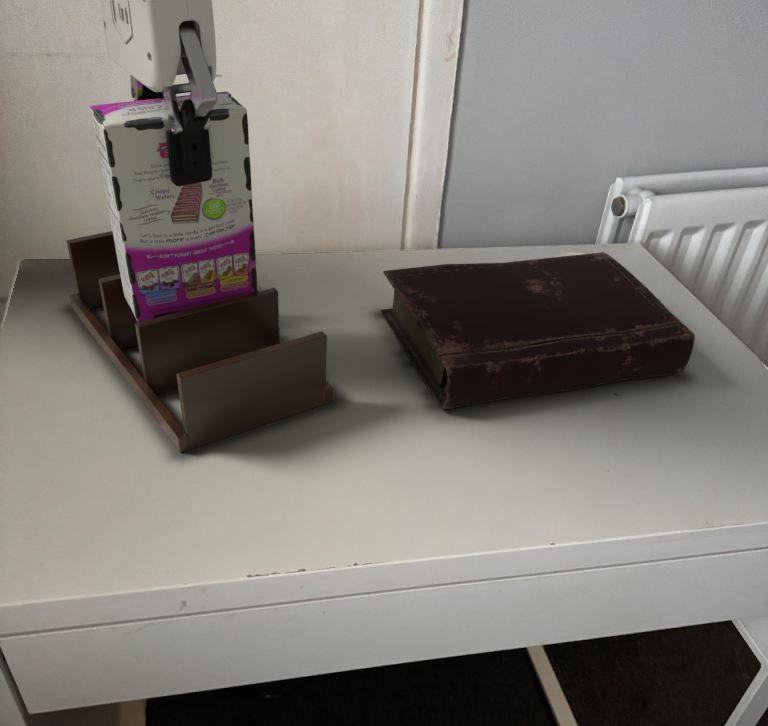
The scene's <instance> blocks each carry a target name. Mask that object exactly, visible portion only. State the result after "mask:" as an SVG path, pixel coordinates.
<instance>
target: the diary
mask: <svg viewBox="0 0 768 726" xmlns="http://www.w3.org/2000/svg"><path fill="white" fill-rule="evenodd" d="M382 273H383V275H384V277H385V278H386V280H387V281H388V282H389V284H390V285H391V287H392V289H393V301H392V308H386V309H380V314H381V315H382V317H383V318H384V319H385V322H386V323H387V325H388V326H389V328H390V329H391V331H392V333H393V335H394V336H395V337H396V339H397V341H398V342H399V344H400V345H401V347H402V349H403V351H404V352H405V353H406V355H407V357H408V358H409V360H410V362H411V363H412V365H413V367H414V368H415V370H416V371H417V373H418V374H419V376H420V378H421V379H422V381H423V382H424V384H425V386H426V387H427V389H428V391H429V392H430V394H431V395H432V396H433V398H434V400H435V401H436V403H437V405H438V406H439V408H440V409H441V410H442V411H443V410H449V409H450V410H451V409H455V408H460V407H461V408H462V407H466V406H472V405H477V404H481V403H488V402H493V401H498V400H505V399H510V398H517V397H525V396H534V395H542V394H551V393H557V392H558V393H559V392H567V391H573V390H578V389H584V388H589V387H595V386H599V385H605V384H610V383H616V382H620V381H626V380H637V379H646V378H652V377H655V378H656V377H660V376H661V377H663V376H672V375H678V374H681V373H683V372H684V370H685V368H687V367H686V366H687V365H688V363H689V360H690V358H691V355H692V352H693V348H694V345H695V340H696V337H695V333H694V332H693V331H692V329H690V328H689V327H688V326H687V325H685V324H684V323H682V321H681V320H680V319H679V318H678V317H677V316H675V314H674V313H672V312H671V310H669V309H668V307H666V306H665V305H664V304H663V302H661V300H660V299H659V298H658V297H657V296H656V295H655V294H654V293H653V292H652V291H651V290H650V289H649V288H648V287H647V286H646V285H645V284H644V283H643V282H642V281H641V280H639V279H638V278H637V277H636V276H635V275H634V274H633V273H632V272H631V271H630V270H628V269H627V268H626V267H625V266H623V265H622V264H621V263H620V262H619V261H617V260H616V259H615V258H613V257H612V256H611V255H610V254H608V253H606V252H604V251H600V252H593V253H583V254H581V253H580V254H574V255H573V254H572V255H563V256H553V257H543V258H534V259H526V260H525V259H524V260H514V261H507V262H505V261H504V262H478V263H477V262H476V263H475V262H473V263H444V264H434V265H433V264H432V265H426V266H416V267H405V268H398V269H397V268H396V269H388V270H383V271H382Z"/></svg>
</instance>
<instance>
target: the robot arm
mask: <svg viewBox="0 0 768 726" xmlns="http://www.w3.org/2000/svg"><path fill="white" fill-rule="evenodd" d="M100 4H101V13H102V14H101V15H102V21H103V30H104V31H103V32H104V37H105V46H106V51H107V53H108V55H109V57H110V59H111V60H112V61H113V62H114V63H115V64H116V65H117V66H119V67H120V68H121V69H122V70H124V72H127V74H128V75H130V93H131V98H132V101H138V100H148V99H157V98H164V100H165V105H166V109H167V114H168V119H169V124H170V128H171V130H167V131H166V139H167V148H168V157H169V165H170V174H171V181H172V183H174V184H175V185H176V186H183V185H188V184H194V183H199V182H204V181H209V180H210V179H211V178H212V165H211V152H210V139H209V129H210V127H211V122H210V115H211V111H212V108H213V107H214V105H215V103H216V102H217V92H218V91H217V89H216V86H215V84H214V82H215V80H216V78H217V77H216V76H217V42H216V30H215V19H214V9H213V0H100ZM182 75H186V77H187V80H188V82H184V83H176V84H174V83H175V80H176V77H177V76H182ZM180 94H188V95H189V97H190V98H189V100H184V101H183V104H182V106H181V108H180V111H179V106H178V101H177V96H178V95H180Z"/></svg>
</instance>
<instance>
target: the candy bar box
mask: <svg viewBox="0 0 768 726" xmlns="http://www.w3.org/2000/svg"><path fill="white" fill-rule="evenodd" d="M216 92H217V102H216V103H215V105H214V107H213V108H212V111H211V115H210V122H211V127H210V129H209V139H210V152H211V165H212V178H211V179H210V180H209V181H204V182H199V183H194V184H188V185H183V186H176V185H175V184H174V183H172V181H171V174H170V165H169V157H168V148H167V139H166V131H167V130H171V128H170V124H169V119H168V114H167V109H166V105H165V100H164V98H157V99H148V100H138V101H134V100H130V101H120V102H112V103H103V104H92V105H90V106H89V108H90V109H89V110H90V116H91V122H92V128H93V132H94V138H95V143H96V147H97V152H98V154H97V155H98V158H99V164H100V170H101V175H102V182H103V187H104V192H105V197H106V203H107V209H108V215H109V220H110V226H111V231H113V237H114V243H115V248H116V254H117V259H118V265H119V271H120V275H121V281H122V286H123V292H124V296H125V299H126V301H127V303H128V305H129V306H130V307H131V309H132V311H133V313H134V316H135V318H136V320H137V321H138V322H141V321H145V320H149V319H153V318H157V317H161V316H165V315H169V314H172V313H176V312H180V311H184V310H188V309H192V308H196V307H200V306H204V305H207V304H211V303H215V302H219V301H223V300H227V299H231V298H235V297H239V296H243V295H246V294H250V293H254V292H258V291H259V290H258V273H257V256H256V239H255V221H254V210H253V209H254V208H253V190H252V189H253V188H252V170H251V167H252V165H251V155H250V141H249V140H250V137H249V133H250V132H249V121H248V120H249V119H248V118H249V117H248V109H247V108H246V107H245V106H243V105H242V103H240V102H239V101H238V100H237V99H236V98H234V97H233V96H232V93H230V92H229V91H224V90H223V91H216ZM189 95H190V94H186V95H185V94H184V95H176V96H177V101H178V106H179V111H180V108H181V106H182V104H183V101H184V100H189V98H190V97H189Z"/></svg>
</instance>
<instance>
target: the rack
mask: <svg viewBox="0 0 768 726" xmlns="http://www.w3.org/2000/svg"><path fill="white" fill-rule="evenodd" d="M66 246H67V251H68V255H69V260H70V265H71V271H72V275H73V279H74V284H75V289H76V293H73V294H69V301H70V305H71V309H72V310H73V311H74V313H75V314H76V316H77V317H78V319H79V320H80V321H81V322H82V324H83V325H84V327H85V328H86V329H87V330H88V332H89V333H90V335H91V336H92V337H93V339H94V340H95V341H96V342H97V344H98V345H99V347H100V348H101V349H102V351H103V352H104V354H106V356H107V357H108V358H109V360H110V361H111V362H112V364H113V365H114V367H115V368H116V369H117V370H118V371H119V373H120V375H121V376H122V377H123V379H124V380H125V381H126V382H127V384H128V385H129V386H130V388H131V389H132V391H133V392H134V394H136V396H137V397H138V399H139V400H140V401H141V402H142V404H143V405H144V406H145V408H146V409H147V410H148V412H149V413H150V414H151V416H152V417H153V418H154V420H155V421H156V423H157V424H158V425H159V426H160V428H161V429H162V431H163V432H164V433H165V434H166V436H167V437H168V439H169V441H171V443H172V444H173V445H174V447H175V448H176V450H177V451H178V452H179V453H184V452H187V451H189V450H193V449H196V448H199V447H202V446H205V445H209V444H211V443H214V442H217V441H219V440H224V439H226V438H228V437H232V436H235V435H238V434H240V433H244V432H247V431H250V430H253V429H255V428H258V427H262V426H264V425H267V424H270V423H274V422H276V421H279V420H282V419H285V418H287V417H291V416H294V415H297V414H301V413H303V412H306V411H308V410H312V409H316V408H318V407H320V406H323V405H326V404H329V403H333V402H334V394H335V393H334V391H335V389H334V386H333V385H332V384H330V382H328V380H327V364H328V363H327V360H328V356H327V355H328V335H327V334H326V333H325V332H324V331H323V330H322V331H321V330H320V331H318V332H315V333H311V334H307V335H305V336H301V337H297V338H294V339H291V340H285V338H283V336H282V335H280V308H279V306H280V305H279V304H280V303H279V302H280V301H279V299H280V298H279V290H278V289H277V288H276V287H269V288H266V289H262V290H258V292H254V293H250V294H246V295H243V296H239V297H235V298H231V299H227V300H223V301H219V302H215V303H211V304H207V305H204V306H200V307H196V308H192V309H188V310H184V311H180V312H176V313H172V314H169V315H165V316H161V317H157V318H153V319H149V320H145V321H141V322H138V321H137V320H136V318H135V316H134V313H133V311H132V309H131V307H130V306H129V305H128V303H127V301H126V299H125V296H124V292H123V286H122V281H121V275H120V271H119V265H118V259H117V254H116V248H115V243H114V237H113V231H112V230H110V231H105V232H101V233H95V234H90V235H86V236H81V237H76V238H71V239H67V240H66ZM101 306H102V307H103V310H104V318H105V322H106V328H107V330H106V329H105V327H104V326H103V325H102V323H101V322H100V321H99V319H97V317H96V316H95V314H94V313H93V312H92V311H91V309H94V308H96V307H97V308H98V307H101ZM134 346H138V351H139V358H140V364H141V371H142V375H141V374H140V372H139V371H138V370H137V369H136V367H135V366H134V365H133V363H132V362H131V361H130V359H129V358H128V357H127V356H126V354H125V353H124V352H123V351H122V350H123V349H127V348H131V347H134ZM142 376H143V377H142ZM174 390H178V397H179V404H180V413H181V421H182V427H181V426H180V424H179V423H178V422H177V420H176V419H175V418H174V416H173V415H172V414H171V413H170V411H169V410H168V408H166V405H164V404H163V402H162V401H161V399H159V397H158V396H157V395H161V394H163V393H167V392H172V391H174Z"/></svg>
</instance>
